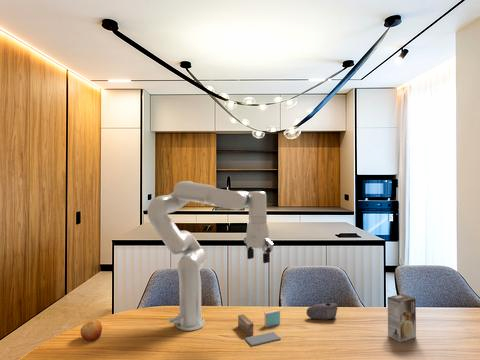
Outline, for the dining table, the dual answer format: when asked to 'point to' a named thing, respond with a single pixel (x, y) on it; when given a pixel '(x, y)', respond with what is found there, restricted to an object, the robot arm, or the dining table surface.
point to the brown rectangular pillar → (245, 325)
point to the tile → (271, 318)
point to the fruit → (91, 330)
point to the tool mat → (262, 338)
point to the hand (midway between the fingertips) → (258, 260)
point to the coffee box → (401, 317)
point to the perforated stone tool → (322, 311)
